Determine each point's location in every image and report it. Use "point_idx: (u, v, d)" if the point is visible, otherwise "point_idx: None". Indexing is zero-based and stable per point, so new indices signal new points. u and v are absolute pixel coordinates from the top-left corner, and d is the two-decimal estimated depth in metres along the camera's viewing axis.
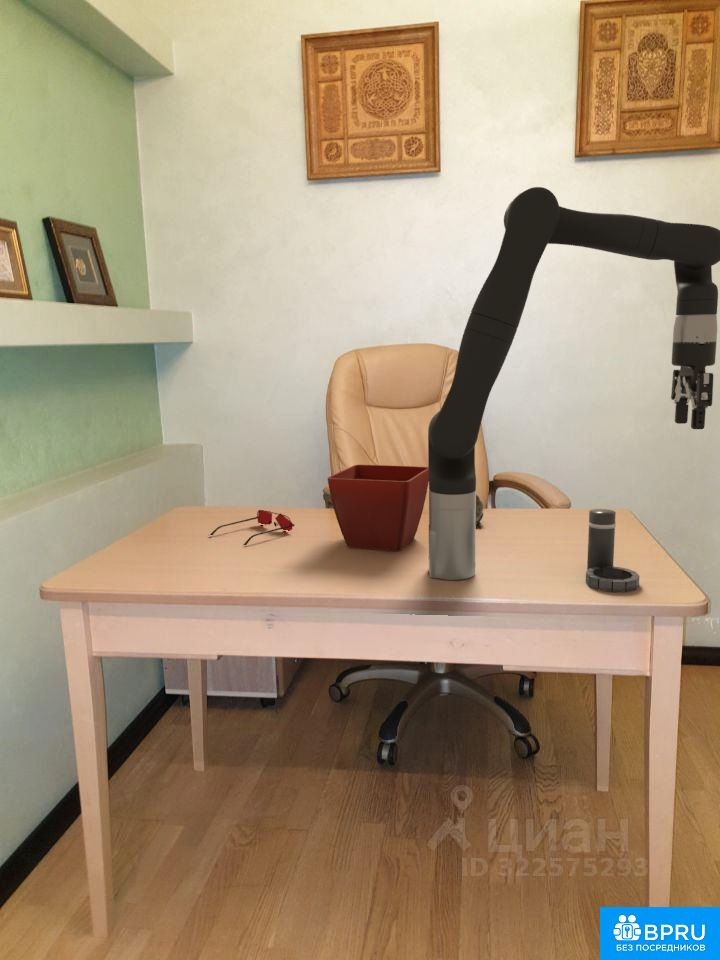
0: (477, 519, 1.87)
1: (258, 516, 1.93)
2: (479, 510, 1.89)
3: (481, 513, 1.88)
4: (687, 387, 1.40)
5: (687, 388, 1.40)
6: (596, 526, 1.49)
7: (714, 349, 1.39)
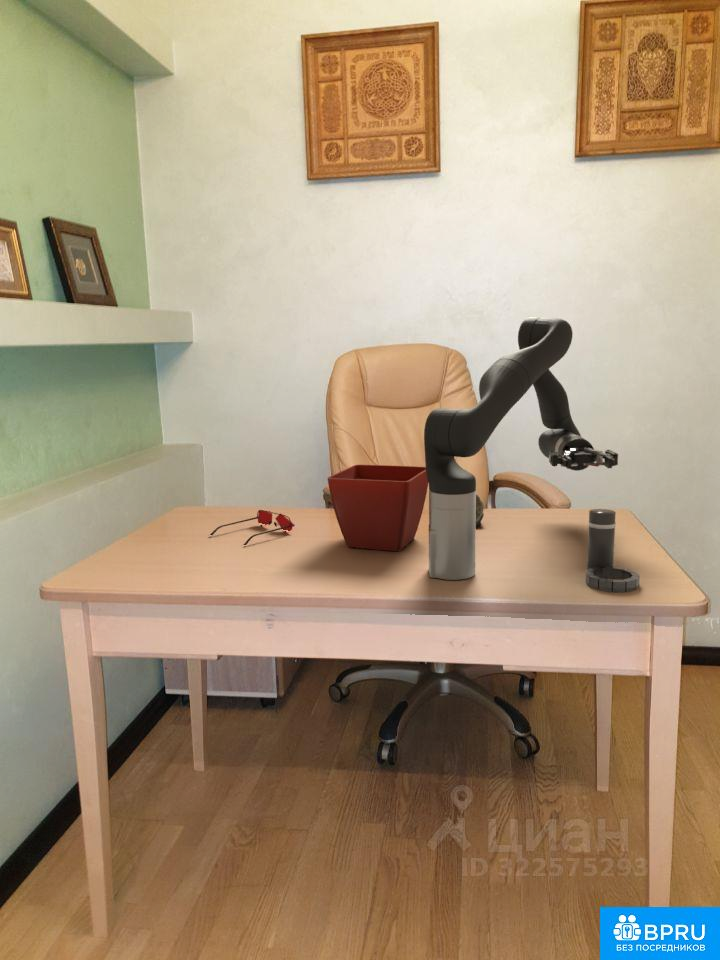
0: (477, 519, 1.87)
1: (258, 516, 1.93)
2: (479, 510, 1.89)
3: (481, 513, 1.88)
4: (594, 450, 1.67)
5: (594, 450, 1.67)
6: (596, 526, 1.49)
7: None
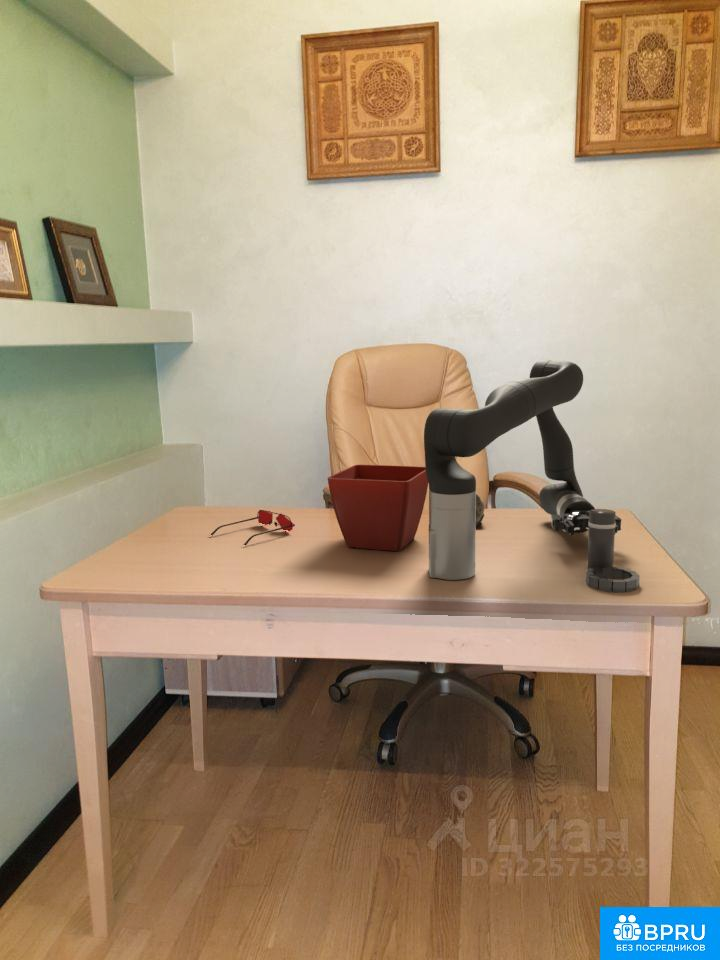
0: (478, 520, 1.87)
1: (259, 516, 1.93)
2: (479, 510, 1.88)
3: (482, 514, 1.87)
4: None
5: None
6: (596, 526, 1.49)
7: None
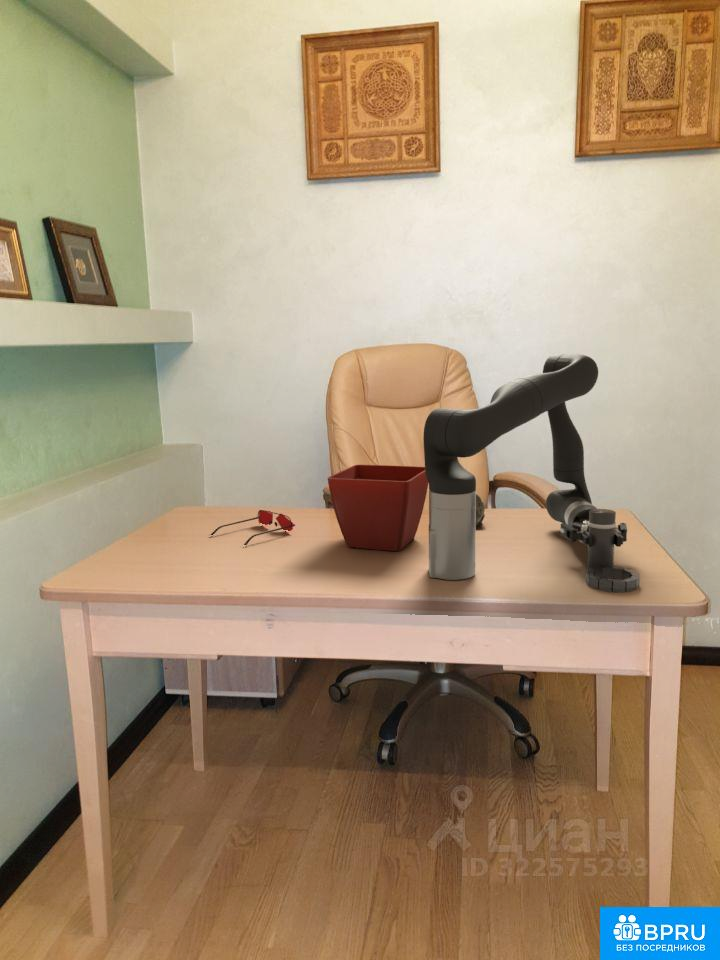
0: (478, 520, 1.86)
1: (259, 516, 1.93)
2: (480, 511, 1.88)
3: (482, 514, 1.87)
4: None
5: None
6: (597, 526, 1.49)
7: None
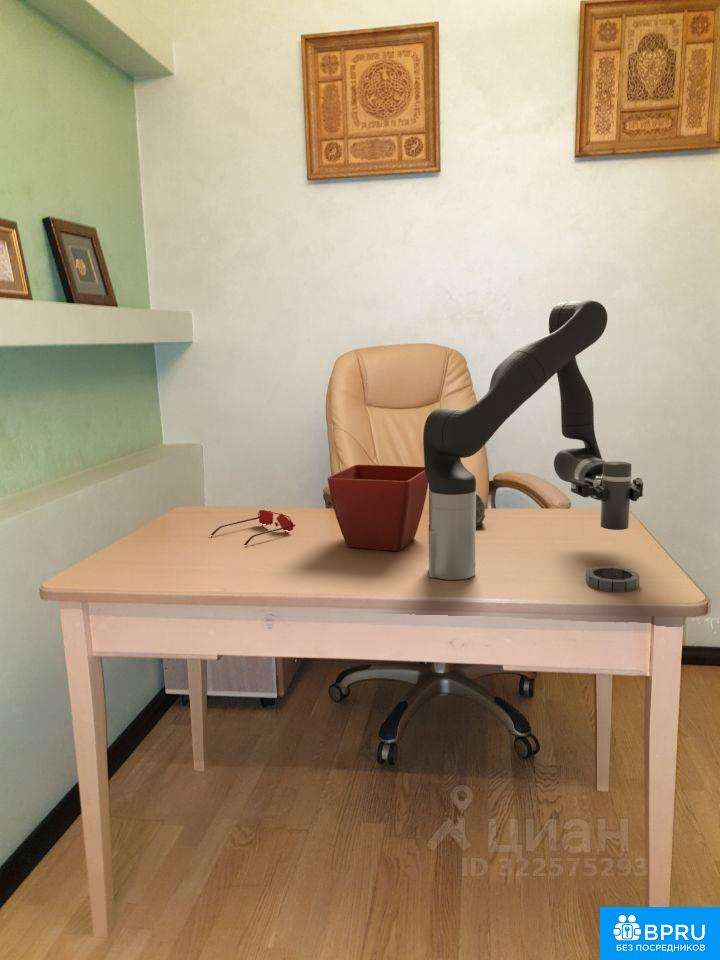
0: (478, 520, 1.86)
1: (259, 516, 1.93)
2: (480, 511, 1.88)
3: (483, 514, 1.87)
4: None
5: None
6: (611, 478, 1.38)
7: None
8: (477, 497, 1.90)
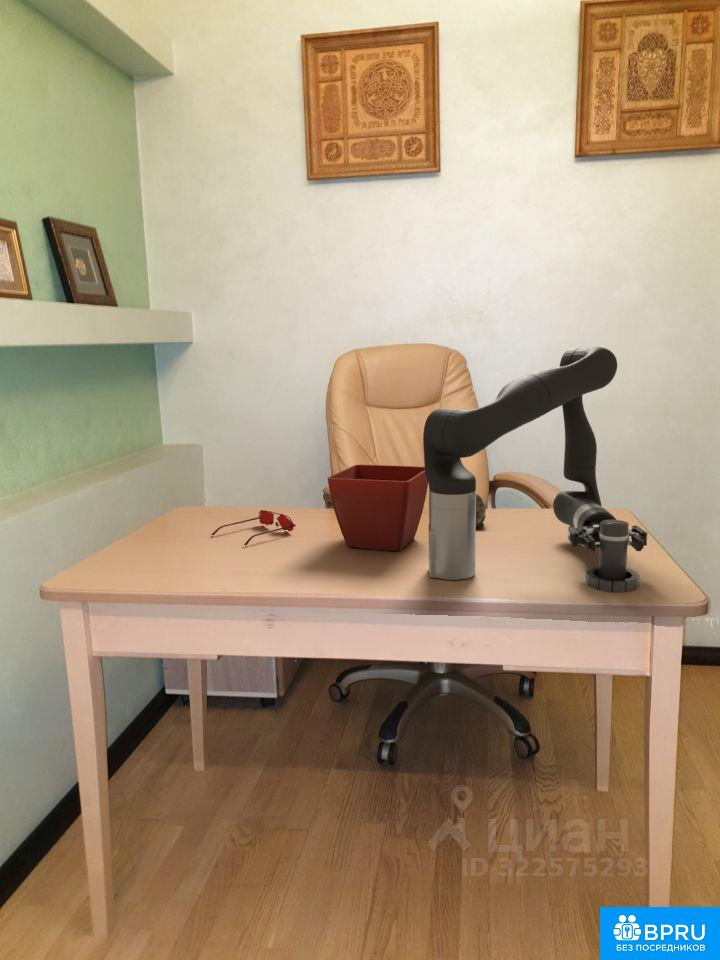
0: (479, 521, 1.86)
1: (260, 516, 1.93)
2: (481, 511, 1.87)
3: (483, 515, 1.86)
4: None
5: None
6: (608, 538, 1.41)
7: None
8: (478, 497, 1.89)
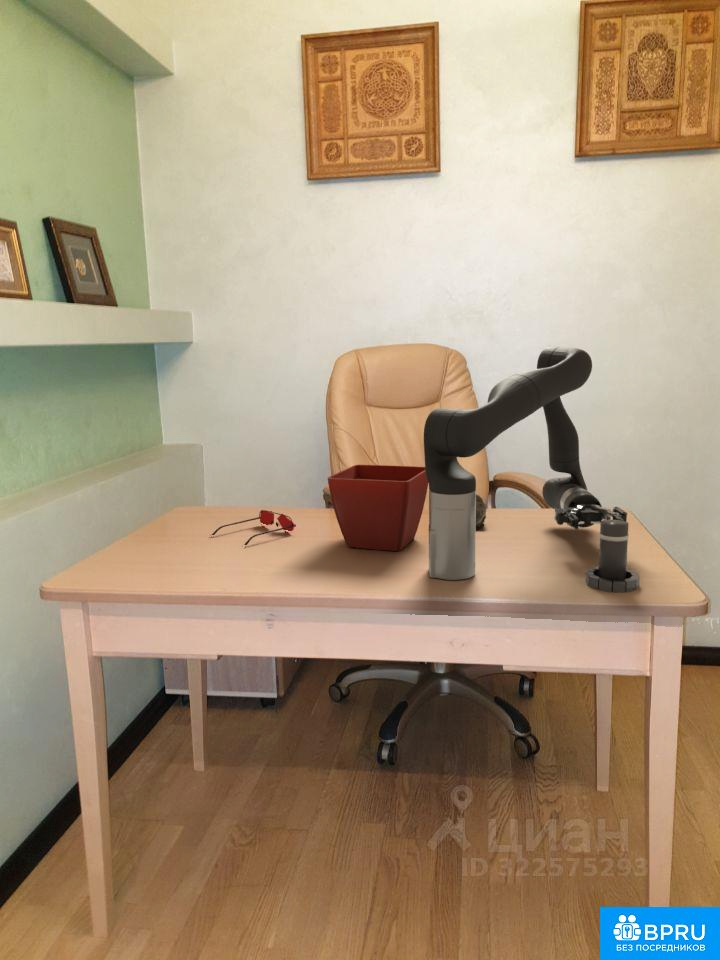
0: (479, 521, 1.85)
1: (260, 516, 1.93)
2: (481, 512, 1.87)
3: (484, 515, 1.86)
4: (602, 507, 1.60)
5: (602, 507, 1.60)
6: (608, 538, 1.41)
7: None
8: (478, 498, 1.89)
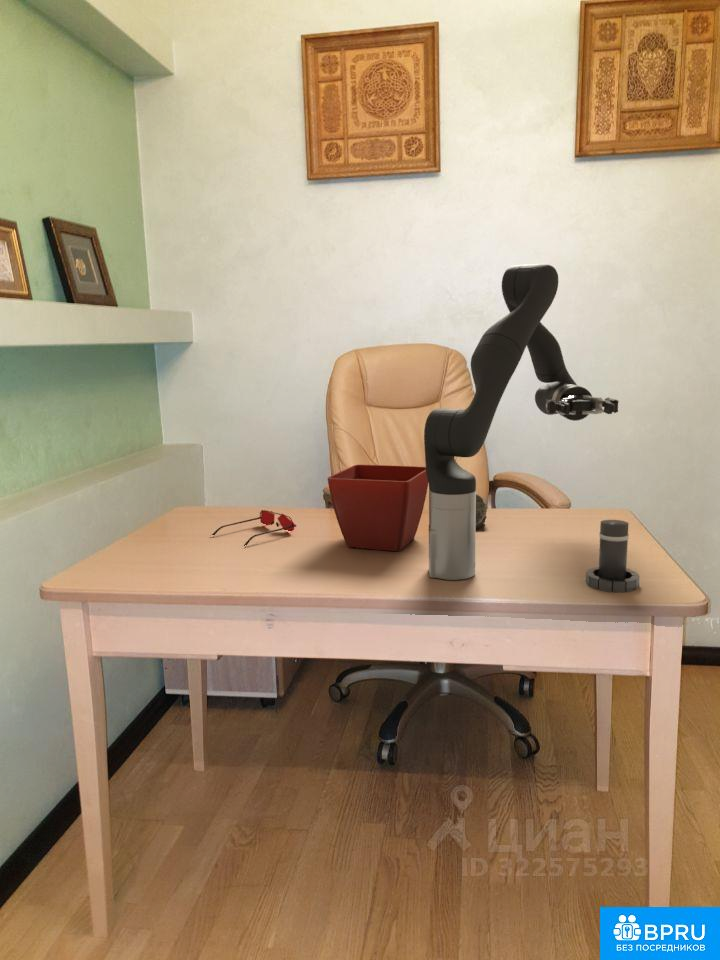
0: (479, 521, 1.85)
1: (261, 516, 1.93)
2: (482, 512, 1.86)
3: (484, 515, 1.86)
4: (593, 397, 1.59)
5: (593, 397, 1.59)
6: (608, 538, 1.41)
7: None
8: (479, 498, 1.89)
